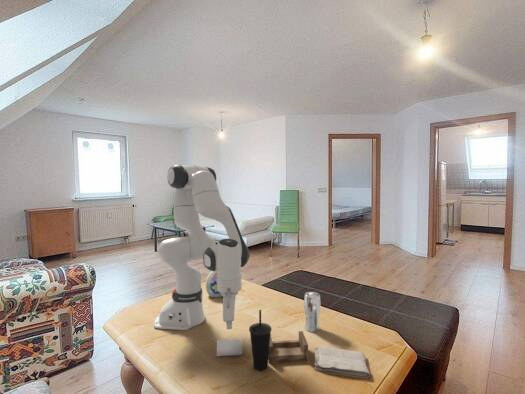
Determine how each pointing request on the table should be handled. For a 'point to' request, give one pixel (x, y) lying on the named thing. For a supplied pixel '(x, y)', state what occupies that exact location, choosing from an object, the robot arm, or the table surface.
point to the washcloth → (341, 362)
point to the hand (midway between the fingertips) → (230, 321)
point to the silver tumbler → (312, 311)
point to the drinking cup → (260, 344)
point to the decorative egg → (212, 285)
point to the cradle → (288, 350)
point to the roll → (229, 347)
